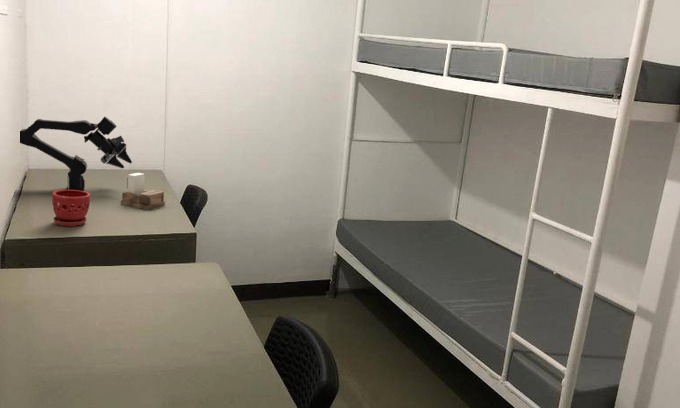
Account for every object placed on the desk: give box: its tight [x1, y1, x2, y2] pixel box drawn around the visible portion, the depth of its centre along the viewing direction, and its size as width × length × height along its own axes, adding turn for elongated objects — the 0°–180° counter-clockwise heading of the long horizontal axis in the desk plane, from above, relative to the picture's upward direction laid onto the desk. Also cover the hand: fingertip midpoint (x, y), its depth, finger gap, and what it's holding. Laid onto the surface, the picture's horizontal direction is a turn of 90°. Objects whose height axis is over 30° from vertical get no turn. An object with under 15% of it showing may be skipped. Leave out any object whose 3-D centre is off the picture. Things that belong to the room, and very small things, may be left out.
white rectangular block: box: [126, 172, 145, 195], centre depth 274 cm, size 4×6×11 cm
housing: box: [120, 188, 166, 210], centre depth 274 cm, size 14×12×6 cm
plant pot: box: [51, 189, 91, 227], centre depth 237 cm, size 13×13×12 cm
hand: (127, 165), depth 292 cm, fingers open, 9 cm apart
